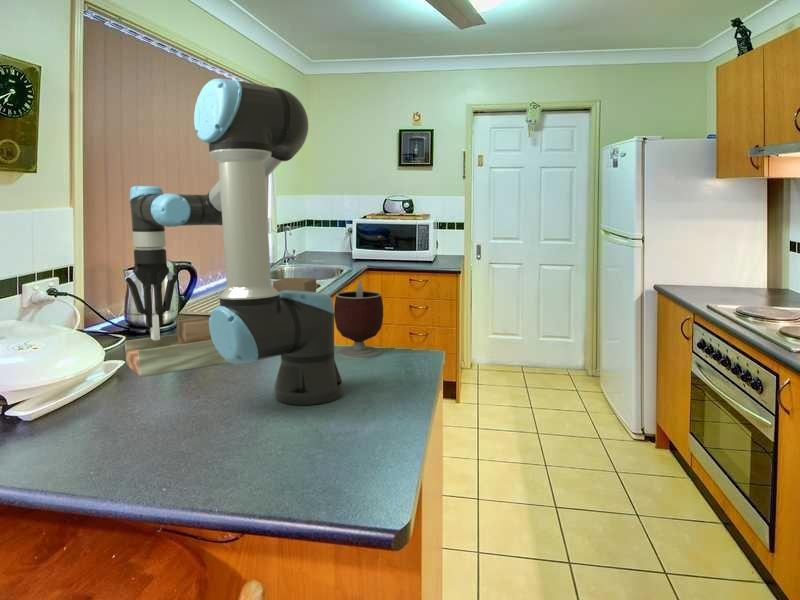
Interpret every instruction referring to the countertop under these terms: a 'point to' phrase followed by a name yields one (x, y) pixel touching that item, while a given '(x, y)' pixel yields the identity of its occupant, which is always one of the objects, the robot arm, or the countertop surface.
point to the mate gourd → (358, 320)
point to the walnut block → (193, 330)
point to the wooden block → (295, 284)
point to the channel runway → (169, 355)
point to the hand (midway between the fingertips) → (155, 339)
